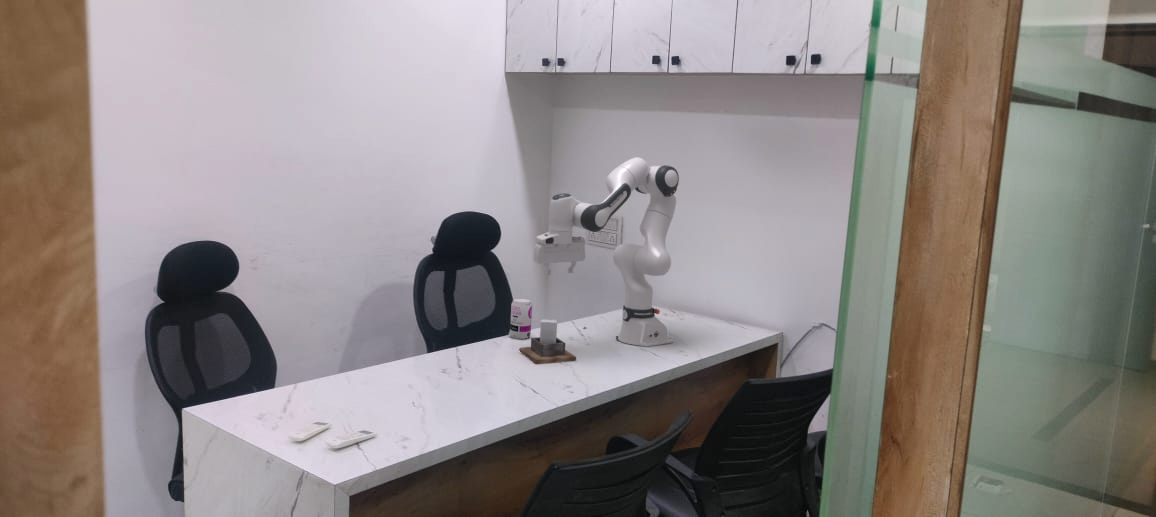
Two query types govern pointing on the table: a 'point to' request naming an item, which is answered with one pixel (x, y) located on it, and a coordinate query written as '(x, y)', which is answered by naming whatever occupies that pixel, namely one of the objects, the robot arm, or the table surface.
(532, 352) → the bottle stand
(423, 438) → the table surface
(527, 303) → the supplement can
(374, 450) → the table surface
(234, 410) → the table surface
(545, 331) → the skincare box
